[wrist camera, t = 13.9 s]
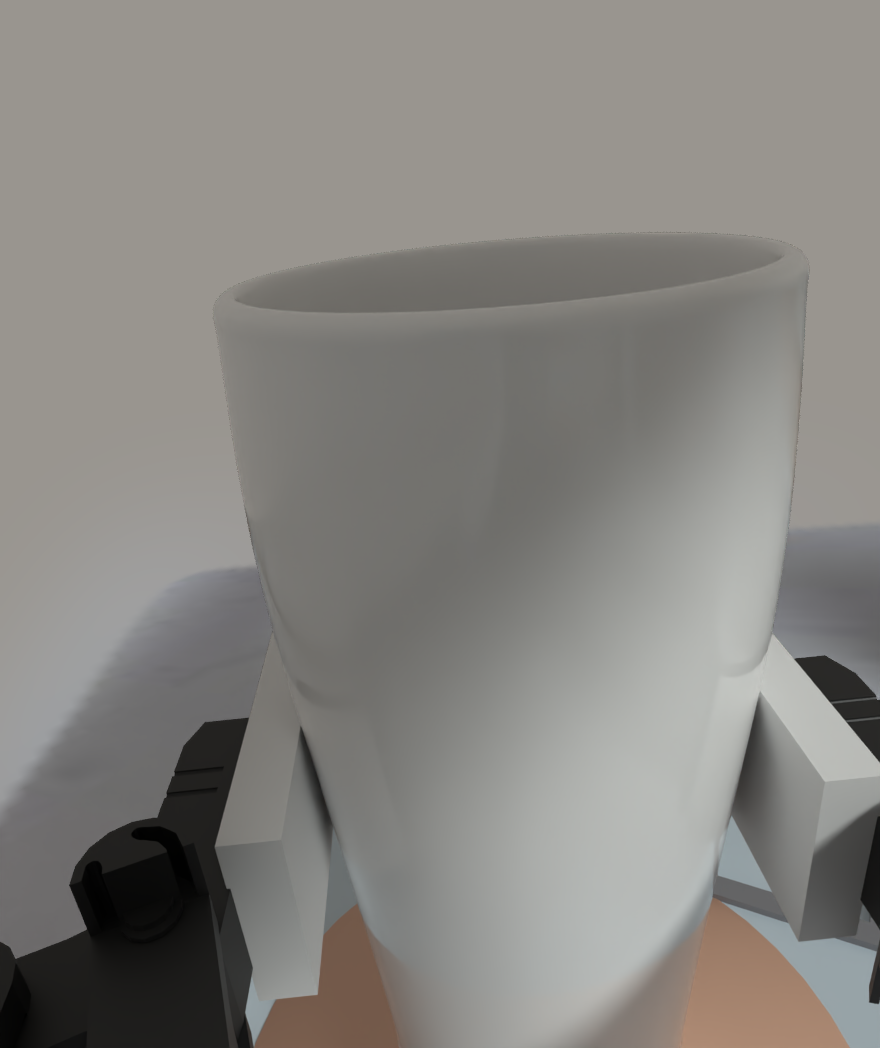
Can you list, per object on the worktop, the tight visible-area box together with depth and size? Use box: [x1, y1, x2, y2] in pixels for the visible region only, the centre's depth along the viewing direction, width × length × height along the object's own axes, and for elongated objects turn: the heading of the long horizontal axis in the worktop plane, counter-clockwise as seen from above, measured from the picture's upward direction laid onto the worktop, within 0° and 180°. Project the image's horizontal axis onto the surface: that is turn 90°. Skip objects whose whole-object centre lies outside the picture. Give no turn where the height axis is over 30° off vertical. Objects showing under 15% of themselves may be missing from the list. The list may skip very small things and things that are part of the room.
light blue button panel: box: [245, 815, 880, 1048], centre depth 20 cm, size 18×22×1 cm
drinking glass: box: [213, 232, 809, 1048], centre depth 12 cm, size 7×7×15 cm
